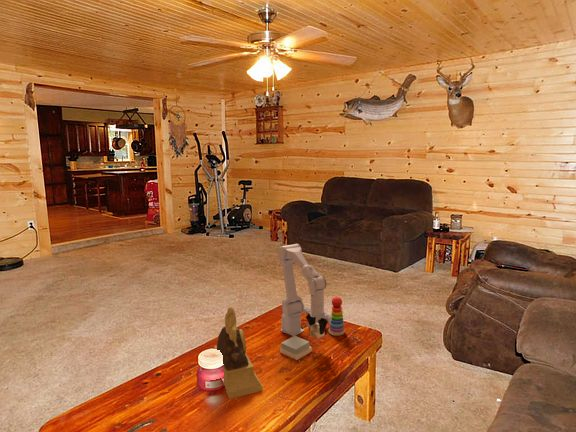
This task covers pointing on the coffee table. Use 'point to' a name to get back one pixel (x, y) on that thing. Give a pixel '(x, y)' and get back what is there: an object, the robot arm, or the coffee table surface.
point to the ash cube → (316, 331)
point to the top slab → (295, 345)
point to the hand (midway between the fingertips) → (317, 331)
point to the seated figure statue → (236, 360)
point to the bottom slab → (297, 354)
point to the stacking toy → (336, 318)
